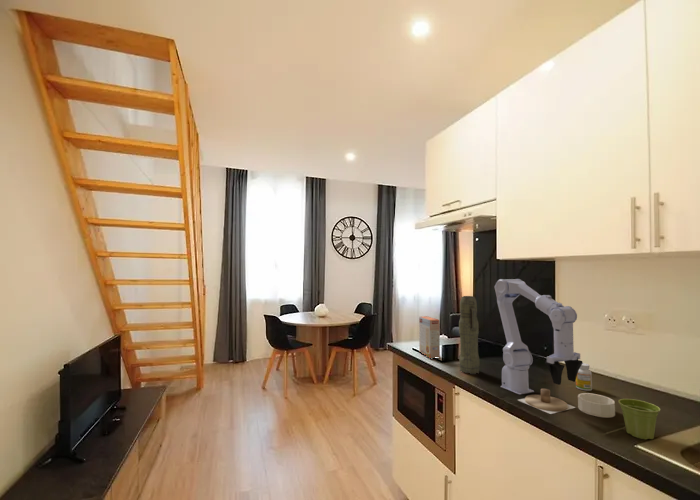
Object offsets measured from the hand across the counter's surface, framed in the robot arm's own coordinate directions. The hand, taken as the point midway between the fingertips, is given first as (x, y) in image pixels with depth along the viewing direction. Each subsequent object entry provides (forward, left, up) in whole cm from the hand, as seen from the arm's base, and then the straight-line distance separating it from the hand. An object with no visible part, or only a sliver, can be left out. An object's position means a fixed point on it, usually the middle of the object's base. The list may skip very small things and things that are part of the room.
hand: (564, 382), depth 117 cm
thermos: (-47, +2, -10) cm, 48 cm away
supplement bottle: (-11, +28, -10) cm, 31 cm away
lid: (-6, -1, -9) cm, 11 cm away
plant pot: (+20, +4, -10) cm, 22 cm away
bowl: (+5, +9, -10) cm, 14 cm away
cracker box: (-77, +1, -10) cm, 78 cm away
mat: (-6, -1, -10) cm, 11 cm away
